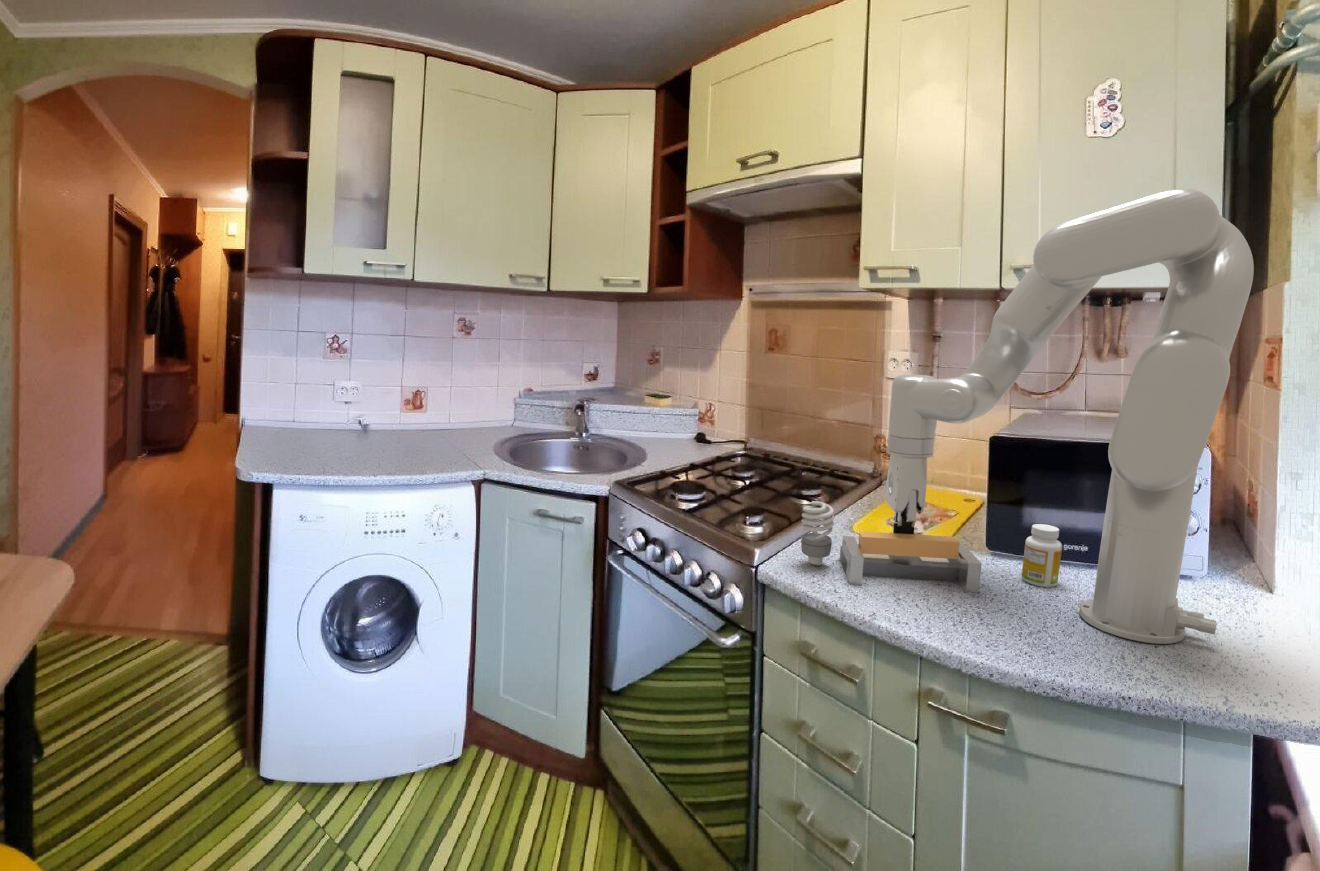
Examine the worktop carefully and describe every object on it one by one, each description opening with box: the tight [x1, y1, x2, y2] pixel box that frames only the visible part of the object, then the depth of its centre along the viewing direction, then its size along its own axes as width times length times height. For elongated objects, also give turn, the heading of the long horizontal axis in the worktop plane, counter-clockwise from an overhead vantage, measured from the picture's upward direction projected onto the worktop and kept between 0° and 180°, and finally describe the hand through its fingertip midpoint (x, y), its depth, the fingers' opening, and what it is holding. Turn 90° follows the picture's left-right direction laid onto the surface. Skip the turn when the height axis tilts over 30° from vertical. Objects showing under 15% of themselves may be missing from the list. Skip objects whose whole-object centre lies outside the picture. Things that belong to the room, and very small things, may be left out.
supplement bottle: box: [1021, 523, 1063, 588], centre depth 110 cm, size 5×5×10 cm
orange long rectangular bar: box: [857, 531, 960, 559], centre depth 112 cm, size 16×3×3 cm, turn 82°
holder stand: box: [839, 535, 983, 593], centre depth 112 cm, size 21×12×5 cm, turn 82°
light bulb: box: [800, 500, 835, 567], centre depth 115 cm, size 6×6×12 cm
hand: (902, 545), depth 115 cm, fingers closed
